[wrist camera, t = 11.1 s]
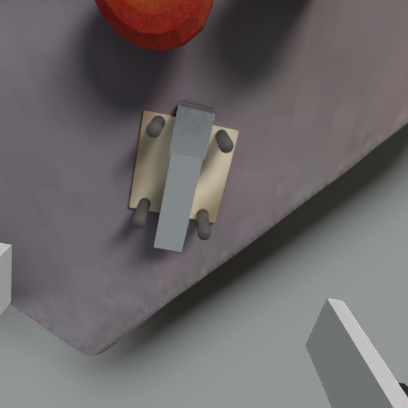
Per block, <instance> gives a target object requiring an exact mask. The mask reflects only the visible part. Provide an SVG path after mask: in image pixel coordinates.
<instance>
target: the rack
mask: <svg viewBox="0 0 408 408" xmlns="http://www.w3.org/2000/svg"><path fill="white" fill-rule="evenodd" d="M175 119H176V117H174V116H170V115H165V114H161V113H156V112H152V111H147V110H144V112H143V118H142V125H141V132H140V138H139V145H138V151H137V158H136V165H135V171H134V178H133V185H132V191H131V198H130V205H129V207H131V208H136V211H135V213H134V216H133V218H132V225H133V226H134V227H135V228H142V227H143V226H144V225H145V222H146V219H147V216H148V212H149V211H152V212H157V213H160V211H161V206H162V200H163V195H164V190H165V185H166V179H167V174H168V169H169V163H170V158H171V152H169V151H170V145H171V140H172V135H173V129H174V124H175ZM238 133H239V131H237V130H233V129H228V128H224V127H219V126H215V125H213V127H212V131H211V136H210V140H209V144H208V149H207V153H206V158H205V160H204V159H203V161H202V165H201V169H200V174H199V178H198V183H197V187H196V192H195V196H194V200H193V205H192V209H191V214H190V219H195V220H197V228H198V237H199V238H200V239H201V240H207V239H209V238H210V236H211V230H210V222H211V223H215V222H216V218H217V214H218V210H219V206H220V202H221V198H222V195H223V191H224V187H225V183H226V179H227V175H228V172H229V168H230V164H231V160H232V156H233V152H234V148H235V145H236V141H237V137H238Z"/></svg>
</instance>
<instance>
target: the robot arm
mask: <svg viewBox="0 0 408 408" xmlns="http://www.w3.org/2000/svg"><path fill="white" fill-rule="evenodd" d="M11 256H12V245H9V244H3V243H0V315H1V314H2V313H3V311H4V310H5V309H6V307H7V306H8V305H9V304H10V302H11ZM306 347H307V350H308V352H309V354H310V357H311V359H312V361H313V364H314V366H315V369H316V371H317V373H318V376H319V378H320V380H321V383H322V385H323V387H324V389H325V392H326V394H327V397H328V399H329V402H330V404H331V406H332V408H408V387H407V386H406V385H405V384H403V383H398V382H397V381H396V379H395V378H394V376H393V375H392V373H391V372H390V370H389V369H388V367H387V366H386V364H385V363H384V361H383V360H382V358H381V357H380V355H379V354H378V352H377V351H376V349H375V348H374V347H373V345H372V343H371V342H370V340H369V339H368V337H367V336H366V334H365V333H364V331H363V330H362V328H361V327H360V325H359V324H358V322H357V321H356V319H355V318H354V316H353V315H352V313H351V312H350V310H349V309H348V307H347V306H346V304H345V303H344V301H341V300H335V299H330V298H327V299H326V301H325V304H324V306H323V308H322V310H321V313H320V315H319V317H318V319H317V321H316V324H315V326H314V328H313V330H312V332H311V334H310V337H309V339H308V341H307V343H306Z"/></svg>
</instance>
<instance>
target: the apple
mask: <svg viewBox="0 0 408 408" xmlns="http://www.w3.org/2000/svg"><path fill="white" fill-rule="evenodd" d="M95 2H96V4H97V6H98V9H99V11H100V12H101V14H102V15H103V16H104V17H105V19H106V20H107V21H108V23H109V24H110V25H111V26H112V28H113V29H114V30H115V32H116V33H117V34H118V35H119V36H121V37H122V38H124V39H126V40H127V41H129V42H131V43H132V44H134V45H136V46H137V47H139V48H142V49H148V50H154V51H159V52H165V51H168V50H171V49H174V48H177V47H180V46H183V45H185V44H186V43H188V42H189V41H190V40H191V39H192V38H193V37H195V36H196V35H197V34H198V33H199V32H201V31H202V30H203V28H204V26H205V23H206V21H207V18H208V16H209V13H210V11H211V8H212V6H213V0H95Z"/></svg>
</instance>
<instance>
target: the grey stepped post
mask: <svg viewBox="0 0 408 408" xmlns="http://www.w3.org/2000/svg"><path fill="white" fill-rule="evenodd" d="M214 118H215V112H214V111H213V109H212V108H209V107H205V106H200V105H196V104H191V103H187V102H183V101H179V104H178V108H177V113H176V119H175V124H174V129H173V135H172V140H171V145H170V151H169V152H171V158H170V163H169V169H168V174H167V179H166V185H165V190H164V195H163V200H162V206H161V211H160V216H159V222H158V227H157V232H156V237H155V243H154V247H155V248H161V249H167V250H172V251H178V252H182V249H183V245H184V240H185V236H186V231H187V227H188V222H189V218H190V214H191V209H192V205H193V200H194V196H195V192H196V187H197V183H198V178H199V174H200V169H201V165H202V161H203V159H204V160H205V158H206V153H207V149H208V144H209V140H210V136H211V131H212V127H213V123H214Z"/></svg>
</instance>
